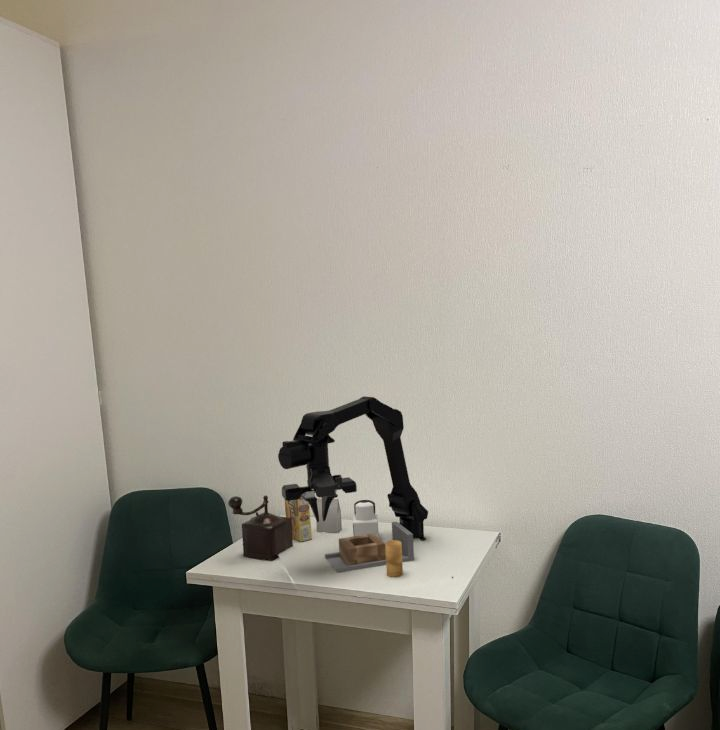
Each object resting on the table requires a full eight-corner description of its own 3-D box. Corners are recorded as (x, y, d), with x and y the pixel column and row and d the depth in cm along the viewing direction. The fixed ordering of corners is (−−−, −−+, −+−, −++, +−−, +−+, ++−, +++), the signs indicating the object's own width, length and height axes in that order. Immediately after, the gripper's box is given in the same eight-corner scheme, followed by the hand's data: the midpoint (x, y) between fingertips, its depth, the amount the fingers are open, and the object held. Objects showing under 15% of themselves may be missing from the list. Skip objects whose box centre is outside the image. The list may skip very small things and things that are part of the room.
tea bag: (337, 533, 218) (336, 501, 217) (316, 532, 220) (315, 500, 219) (341, 529, 221) (340, 497, 220) (321, 528, 223) (319, 496, 222)
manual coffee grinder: (263, 544, 211) (259, 484, 209) (294, 549, 205) (290, 487, 204) (228, 562, 197) (224, 497, 196) (261, 568, 192) (256, 501, 190)
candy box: (312, 539, 213) (309, 488, 212) (299, 542, 211) (296, 491, 209) (298, 532, 220) (295, 483, 219) (285, 535, 218) (282, 485, 217)
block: (374, 551, 197) (373, 533, 197) (386, 562, 188) (385, 543, 188) (339, 556, 194) (338, 538, 194) (349, 568, 185) (348, 549, 185)
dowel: (399, 574, 183) (398, 539, 182) (405, 579, 179) (403, 544, 178) (384, 576, 181) (383, 541, 181) (390, 582, 178) (388, 546, 177)
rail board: (398, 549, 201) (396, 521, 200) (414, 563, 189) (412, 534, 188) (325, 561, 194) (323, 532, 194) (337, 576, 183) (335, 545, 182)
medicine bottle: (354, 538, 212) (352, 498, 211) (378, 537, 212) (376, 497, 211) (354, 546, 205) (351, 505, 204) (379, 545, 205) (377, 504, 204)
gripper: (288, 472, 175) (292, 535, 176) (361, 464, 181) (364, 524, 182) (279, 463, 186) (283, 522, 187) (348, 455, 191) (351, 513, 193)
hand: (320, 521), depth 187 cm, fingers closed
